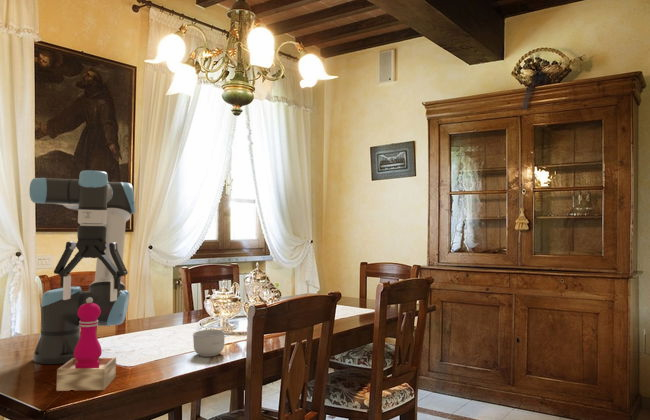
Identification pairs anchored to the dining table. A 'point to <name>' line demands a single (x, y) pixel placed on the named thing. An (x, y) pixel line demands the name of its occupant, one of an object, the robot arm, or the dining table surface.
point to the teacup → (208, 342)
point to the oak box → (86, 375)
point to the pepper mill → (88, 336)
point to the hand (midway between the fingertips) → (90, 300)
